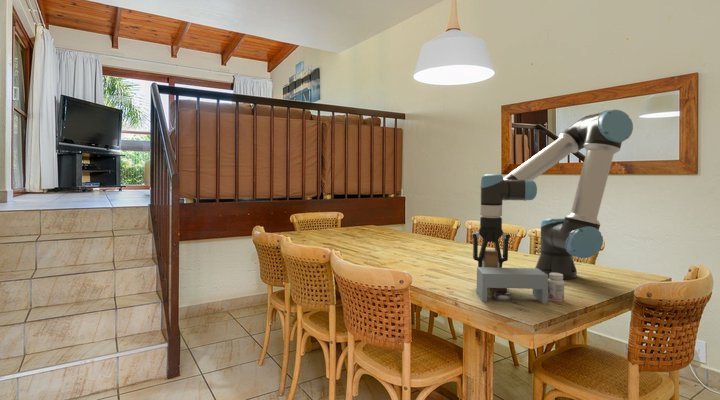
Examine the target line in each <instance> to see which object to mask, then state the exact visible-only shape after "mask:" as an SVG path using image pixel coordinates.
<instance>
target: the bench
mask: <svg viewBox="0 0 720 400" xmlns="http://www.w3.org/2000/svg"><path fill="white" fill-rule="evenodd" d="M548 279H549V278H548V275H547V274H546V273H544V272H542V271H541V270H539V269H538V268H535V267H534V268H533V267H527V268H526V267H502V268H493V267H478V266H476V295H477V296H478V297H479V298H480V300H481V302H485V303H486V302H488V289H489V288H490V289H491V288H507V289H521V290H522V289H524V290H525V289H526V290H532V296H534V298H536V300H538V301H539V302H540V303H541V304H548Z"/></svg>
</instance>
